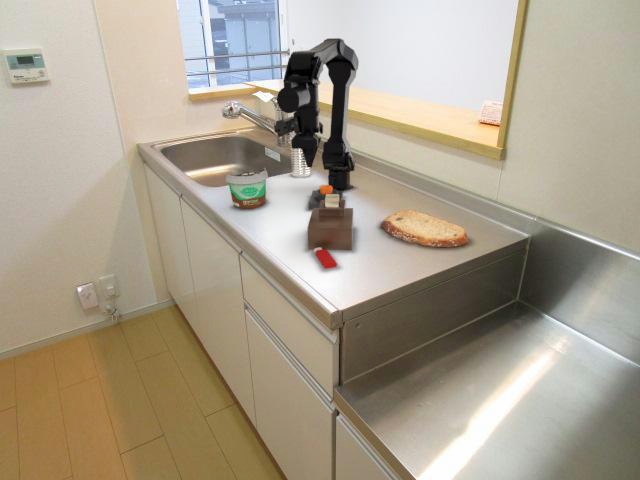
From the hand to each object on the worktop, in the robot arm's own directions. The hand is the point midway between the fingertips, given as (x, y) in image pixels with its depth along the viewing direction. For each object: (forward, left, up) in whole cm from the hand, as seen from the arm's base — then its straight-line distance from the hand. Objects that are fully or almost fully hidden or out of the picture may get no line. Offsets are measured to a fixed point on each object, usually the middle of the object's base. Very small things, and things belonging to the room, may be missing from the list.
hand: (309, 167), depth 118 cm
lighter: (+17, +22, -13) cm, 31 cm away
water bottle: (-22, -28, -13) cm, 38 cm away
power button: (-8, -2, -10) cm, 13 cm away
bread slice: (-9, +30, -13) cm, 34 cm away
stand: (+8, +16, -13) cm, 22 cm away
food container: (+8, -16, -13) cm, 22 cm away
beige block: (+5, +13, -6) cm, 16 cm away
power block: (-8, -2, -13) cm, 15 cm away
